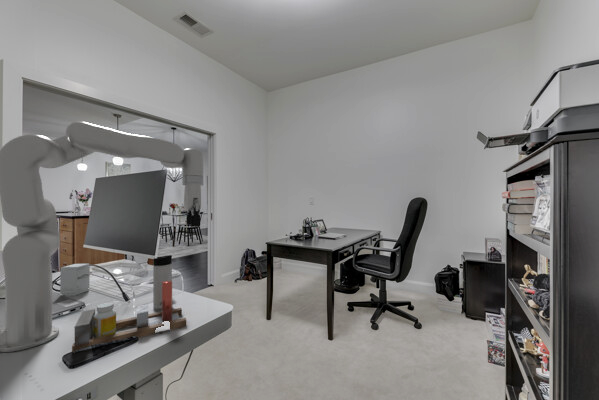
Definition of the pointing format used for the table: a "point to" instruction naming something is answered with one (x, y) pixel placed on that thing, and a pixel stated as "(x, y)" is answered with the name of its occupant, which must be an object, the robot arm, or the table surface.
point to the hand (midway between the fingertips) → (193, 225)
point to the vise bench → (86, 329)
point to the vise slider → (166, 309)
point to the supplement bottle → (104, 320)
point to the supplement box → (74, 279)
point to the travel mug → (160, 278)
